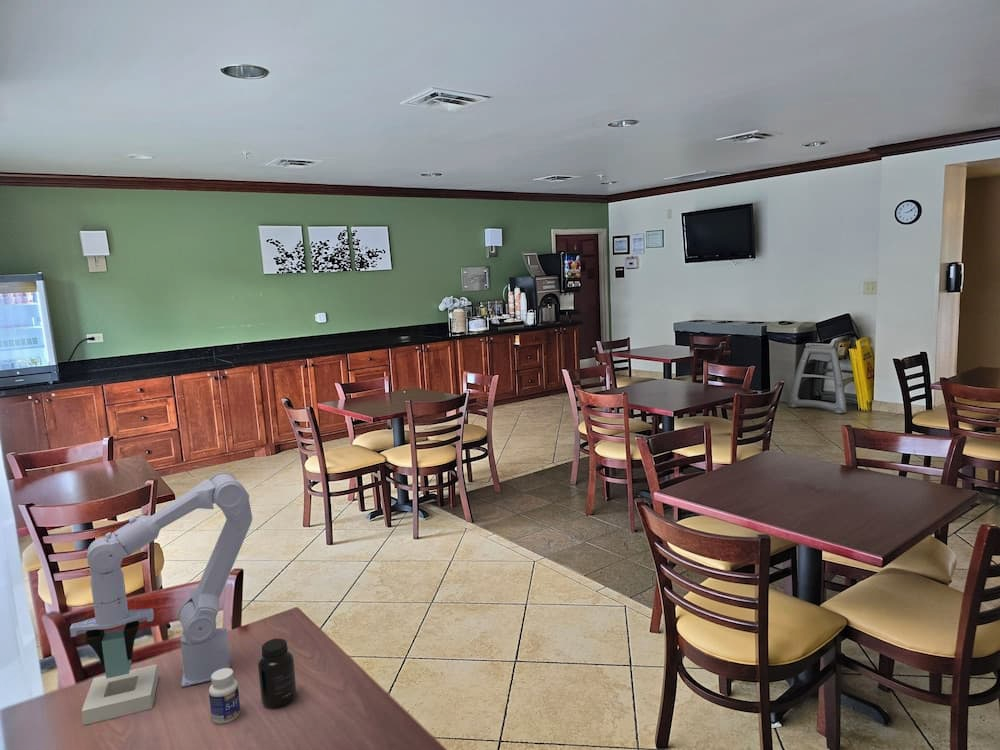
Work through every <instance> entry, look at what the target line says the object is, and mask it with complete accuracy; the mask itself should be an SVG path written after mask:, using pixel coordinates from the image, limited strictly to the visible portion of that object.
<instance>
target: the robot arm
mask: <svg viewBox="0 0 1000 750" xmlns="http://www.w3.org/2000/svg"><path fill="white" fill-rule="evenodd" d="M250 503H251V502H250V494H249V492H248V491H247V490H246V488H245V486H243V484H242V483H241V482H239V481H238V480H237V479H236V477H235V476H234V475H233V474H232V473H230V472H227V471H224V472H223V471H222V472H221V471H220V472H216V474H214V475H212V476H211V477H210V479H209V478H206V479H204V480H202V481H200V482H199V483H198V484H197V485H196V486H193V488H191V489H190V490H188V491H186V492H184V494H182V495H181V496H179V497H178V498H176V499H175V500H173V501H172V502H170V503H169V504H166V506H164V507H163V508H161V509H160V510H159V511H157V512H155V513H154V514H153V515H145V514H141V515H140V516H138V517H136V516H132V517H131V518H129V519H128V523H126V524H124V525H123V526H121V527H120V528H118V529H116V530H114V531H113V532H111V531H109V532H107V533H106V534H105V536H104V537H99V538H97V539H95V540H93V541H92V542H91V543H90V544H89V546H88V548H87V552H86V558H87V564H88V567H89V568H90V569H89V575H90V577H91V578H90V581H89V582H90V587H91V596H92V602H93V610H94V616H95V617H92V618H88V619H85V620H82V621H78V622H75V623H71V625H70V627H69V632H70V638H74V637H77V636H79V635H81V634H86V636H85V642H86V643H87V644H88V645H89V646H90V647H91V648H92V649H93V651H94V652H95V653H96V655H97V657H98V659H99V661H100V664H101V666H105V664H104V656H103V649H102V639H103V637H104V634H105V630H107V629H113V628H116V627H122V626H124V628H125V629H124V628H123V629H124V636H125V640H126V646H127V657H128V660H131V661H132V659H133V657H134V646H135V645H134V644H135V639H136V635H137V633H138V631H139V627H140V623H142V622H143V623H144V622H148V623H149V622H153V620H154V618H155V615H154V609H153V608H152V607H151V608H146V609H145V608H144V609H130V610H129V607H128V599H127V593H126V592H127V591H126V584H125V577H124V572H123V570H122V565H121V564H122V562H123V560H124V558H127V557H129V556H131V555H132V554H134V553H136V552H138V551H140V549H142V548H144V547H146V546H147V545H148V544H150V543H151V542H153V541H155V540H157V538H158V537H159V534H160V531H161V529H163V528H165V527H167V526H169V525H170V524H172V523H174V522H175V521H177V520H179V519H181V518H182V517H185V516H186V515H188V514H189V513H192V512H194V511H195V510H197V509H200V510H201V509H202V510H214V509H215V507H214V505H215V504H216V506H217V507H218V508H219V509H221V511H222V513H223V515H224V517H225V519H226V520H225V522H224V525H223V527H222V529H221V532H220V533H219V537H218V538H217V541H216V542H215V545H214V547H213V551H212V552H211V555H210V557H209V559H208V562H207V564H206V566H205V569H204V570H203V573H202V576H201V577H200V580H199V583H198V585H197V587H196V588H195V589H194V590H192V592H191V593H190V594H189V597H188V599H187V600H186V601H184V603H183V604H181V606H180V608H179V610H178V613H177V616H178V617H177V618H178V620H179V622H180V625H181V627H182V633H181V635H180V637H179V639H180V640H179V641H180V646H181V647H180V648H181V656H182V657H181V658H182V666H183V670H182V671H183V672H182V677H181V678H182V679H181V687H182V688H185V687H189V686H193V685H197V684H202V683H205V682H209V681H210V682H211V675H212V674H213V673H214V672H215V671H217V670H220V669H223V668H230V669H231V662H232V656H231V655H232V654H231V652H230V647H229V646H230V645H229V638H228V637H229V636H228V629H226V628H222V629H220V628H219V629H218V628H217V621H216V619H217V615H218V613H219V609H220V597H221V595H222V594H223V593H222V592H223V590H224V587H225V585H226V583H227V581H228V579H229V576H230V574H231V571H232V569H233V567H234V564H235V562H236V560H237V558H238V556H239V552H240V550H241V547H242V546H243V543H244V541H245V538H246V537H247V534H248V532H249V530H250V527H251V524H252V522H253V515H252V513H253V512H252V509H251V508H252V507H251V504H250Z"/></svg>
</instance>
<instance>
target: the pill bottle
mask: <svg viewBox="0 0 1000 750" xmlns="http://www.w3.org/2000/svg"><path fill="white" fill-rule="evenodd" d="M210 682H211V685H210V686H209V688H208V698H209V707H210V708H209V709H210V717H211V721H212V722H213V723H214V724H220V725H221V724H227V723H230V722H232V721H234V720H236V719H237V718H238V717H239V715H240V714H241V703H240V693H239V683H238V681H237V680H236V679H235V676H234V670H233V669H232V668H231V667H230V668H223V669H220V670H217V671H215V672H214V673H213V674H212V675H211V680H210Z"/></svg>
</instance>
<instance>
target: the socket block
mask: <svg viewBox="0 0 1000 750" xmlns="http://www.w3.org/2000/svg"><path fill="white" fill-rule="evenodd" d="M158 677H160V675H159V669H158V664H157V663H156V664H155V663H154V664H151V665H147V666H143V667H138V668H133V669H132V668H131V669H130V672H129V674H125V675H121V676H116V677H112V678H107V679H106V674H105V675H101V676H98V677H97V676H96V677H93V679H92V682H91V684H90V687H89V689H88V692H87V694H86V698H85V701H84V703H83V705H82V709H81V712H80V713H81V718H82V725H83V726H87V725H90V724H93V723H99V722H102V721H103V722H104V721H107V720H111V719H115V718H118V717H119V718H120V717H124V716H127V715H131V714H132V715H133V714H136V713H139V712H144V711H148V710H152V709H153V707H154V702H155V695H156V692H157V687H158V681H159V678H158Z"/></svg>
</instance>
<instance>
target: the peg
mask: <svg viewBox="0 0 1000 750" xmlns="http://www.w3.org/2000/svg"><path fill="white" fill-rule="evenodd" d="M124 629H125V627H123V628H119V629H114V630H110V631H106V632H105V631H104V637H103V639H102V649H103V656H104V664H105V665H104V670H105V675H106V679H107V678H112V677H116V676H121V675H125V674H129V672H130V670H131V669H132V668H131V667H132V664H133V662H132V659H131V660H128V657H127V646H126V640H125V636H124Z"/></svg>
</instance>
